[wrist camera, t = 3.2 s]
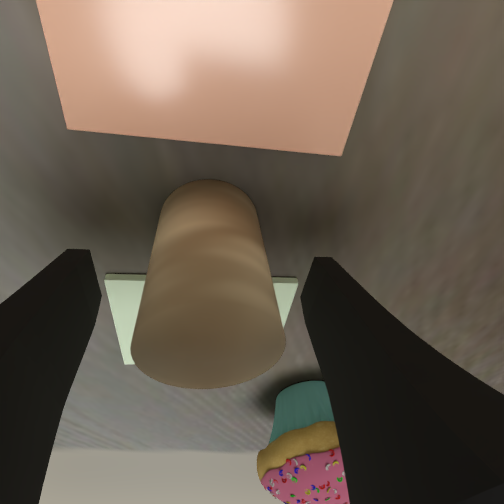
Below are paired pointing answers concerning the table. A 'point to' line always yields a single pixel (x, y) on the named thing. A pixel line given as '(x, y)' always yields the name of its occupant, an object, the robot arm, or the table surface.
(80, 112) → the mat
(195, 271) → the tan wooden cylinder
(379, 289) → the table surface
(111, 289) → the mat
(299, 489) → the cupcake
